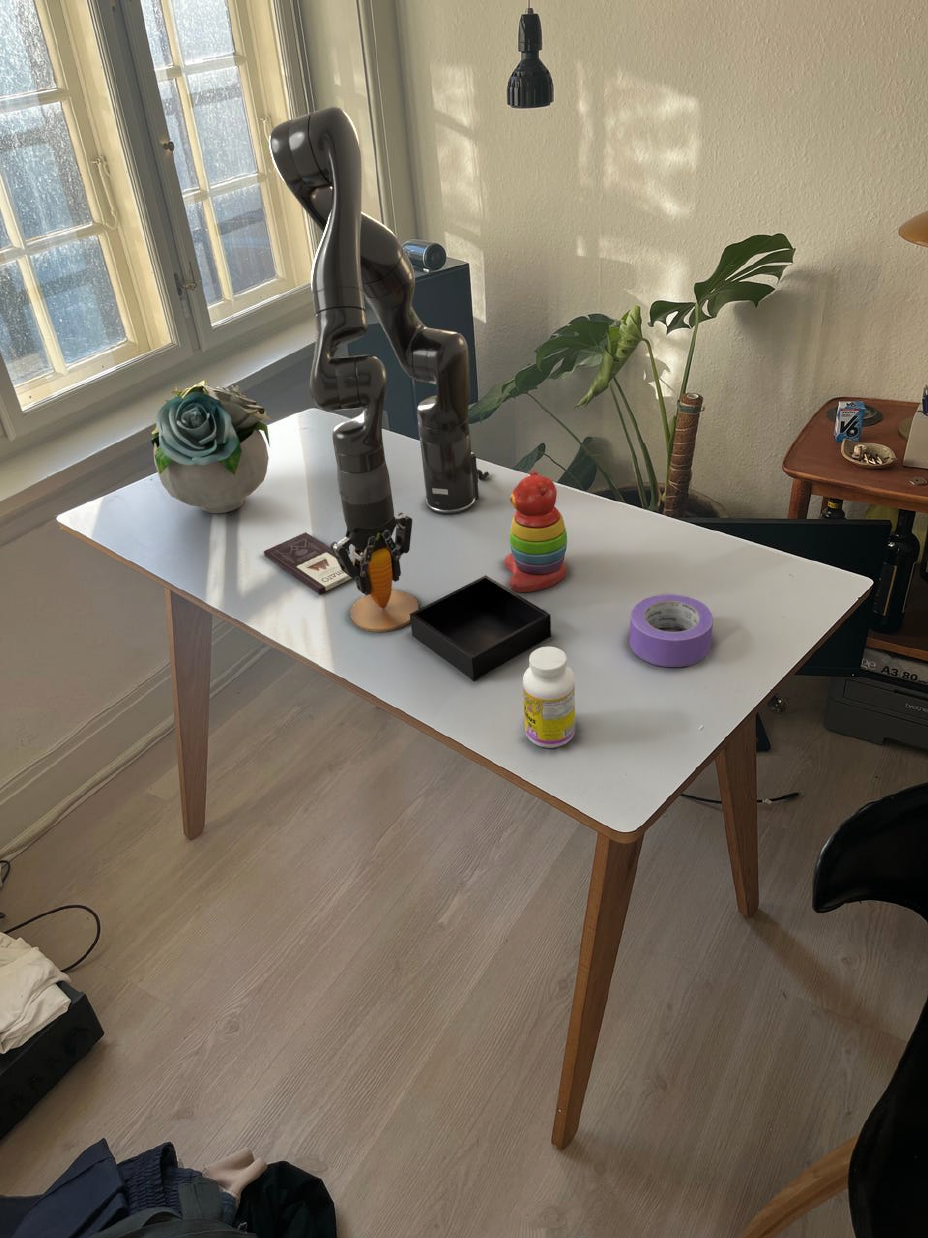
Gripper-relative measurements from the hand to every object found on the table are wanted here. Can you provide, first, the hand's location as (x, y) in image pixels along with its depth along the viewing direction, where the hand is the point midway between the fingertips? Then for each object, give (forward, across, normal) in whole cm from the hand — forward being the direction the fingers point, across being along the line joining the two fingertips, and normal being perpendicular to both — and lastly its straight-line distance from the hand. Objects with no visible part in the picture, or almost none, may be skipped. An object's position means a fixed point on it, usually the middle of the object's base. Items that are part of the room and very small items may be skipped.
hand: (380, 585), depth 145 cm
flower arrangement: (+5, -2, +54) cm, 54 cm away
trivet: (+5, 0, 0) cm, 5 cm away
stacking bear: (+5, +25, -9) cm, 27 cm away
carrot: (+5, 0, 0) cm, 5 cm away
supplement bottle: (+5, 0, -39) cm, 39 cm away
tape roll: (+5, +26, -37) cm, 46 cm away
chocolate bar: (+5, -1, +21) cm, 22 cm away
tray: (+5, +7, -16) cm, 18 cm away
